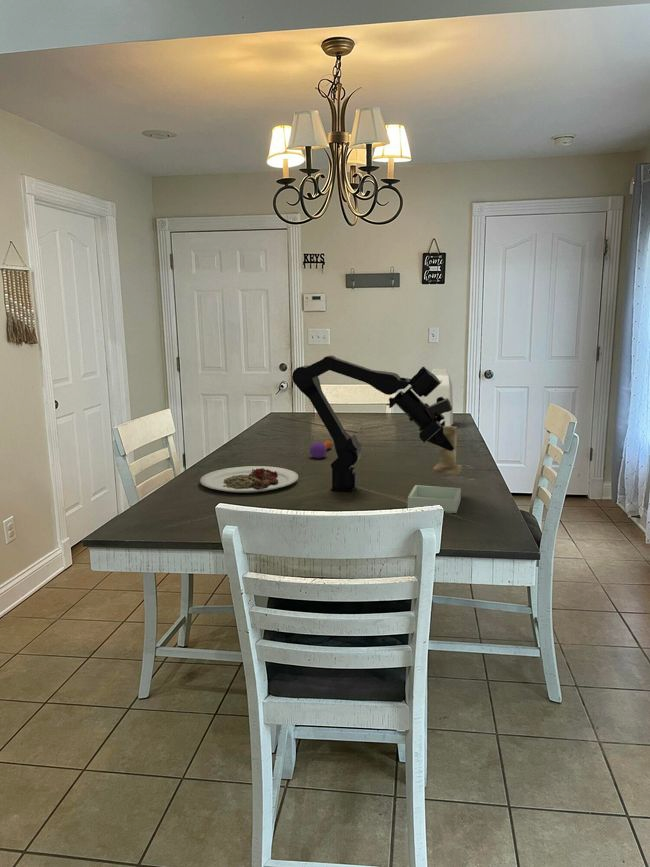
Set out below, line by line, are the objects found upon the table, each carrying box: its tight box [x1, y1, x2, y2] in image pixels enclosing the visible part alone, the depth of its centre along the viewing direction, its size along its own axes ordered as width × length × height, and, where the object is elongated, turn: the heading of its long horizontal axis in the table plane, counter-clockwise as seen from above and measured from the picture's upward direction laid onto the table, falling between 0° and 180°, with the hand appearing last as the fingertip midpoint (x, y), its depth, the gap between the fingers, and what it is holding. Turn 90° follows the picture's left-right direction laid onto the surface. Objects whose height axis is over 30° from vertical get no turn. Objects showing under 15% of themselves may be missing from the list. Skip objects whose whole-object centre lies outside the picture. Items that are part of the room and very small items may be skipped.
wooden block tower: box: [432, 425, 463, 475], centre depth 183 cm, size 7×7×12 cm
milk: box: [424, 368, 454, 426], centre depth 294 cm, size 12×12×26 cm
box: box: [407, 484, 462, 514], centre depth 175 cm, size 13×13×4 cm
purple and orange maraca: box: [309, 440, 333, 460], centre depth 241 cm, size 6×6×20 cm
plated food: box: [199, 465, 299, 494], centre depth 201 cm, size 30×30×3 cm
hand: (453, 448), depth 183 cm, fingers closed on wooden block tower, 4 cm apart
